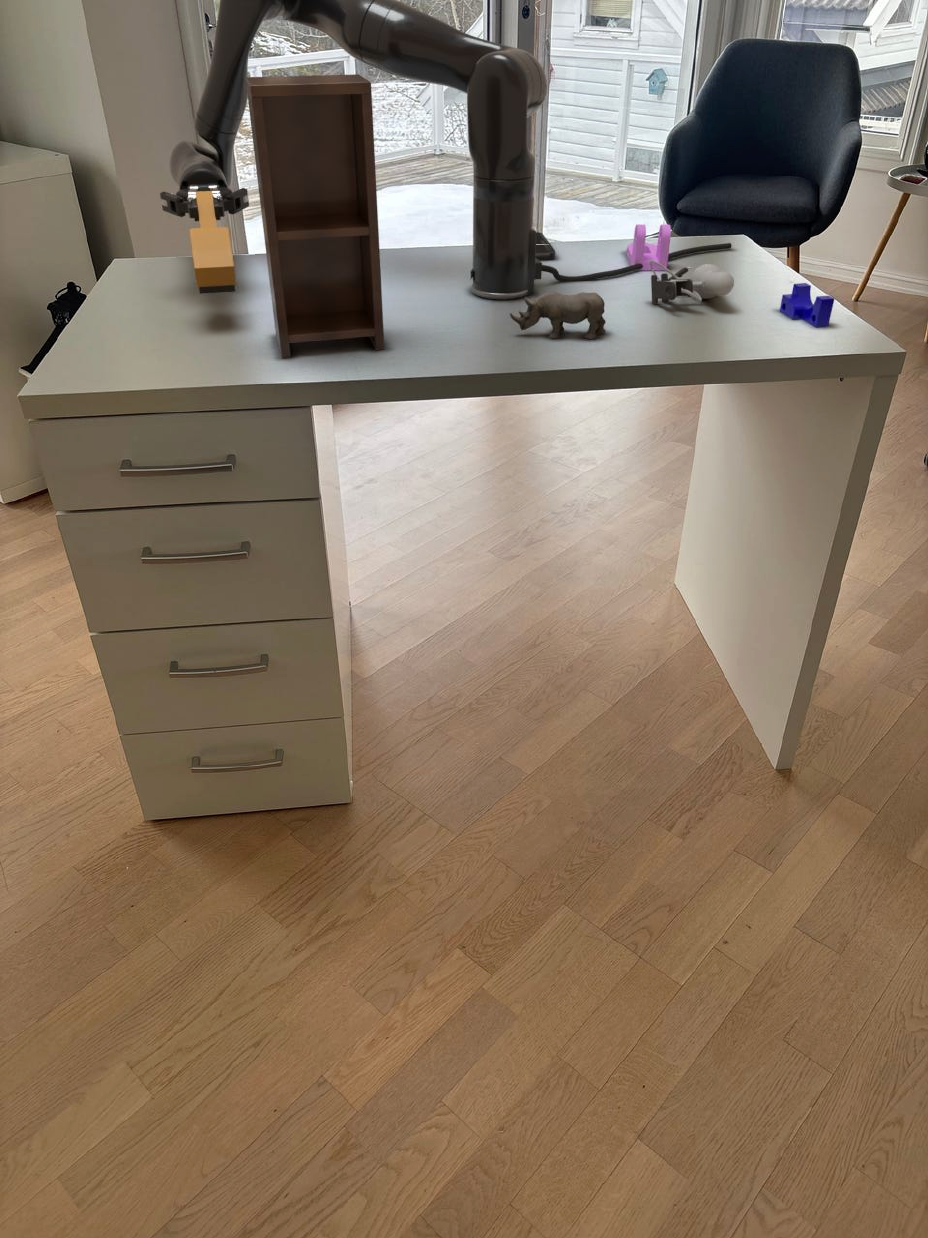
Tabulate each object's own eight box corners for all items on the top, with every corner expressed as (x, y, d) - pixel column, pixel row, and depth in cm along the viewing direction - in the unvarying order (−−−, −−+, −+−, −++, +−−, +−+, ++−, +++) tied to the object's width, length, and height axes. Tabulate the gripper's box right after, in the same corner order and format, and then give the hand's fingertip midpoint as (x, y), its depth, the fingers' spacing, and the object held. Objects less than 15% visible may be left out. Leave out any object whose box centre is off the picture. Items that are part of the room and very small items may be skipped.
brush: (223, 203, 140) (220, 175, 136) (237, 292, 133) (234, 266, 129) (187, 205, 139) (182, 177, 135) (198, 294, 132) (194, 268, 128)
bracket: (666, 270, 160) (671, 227, 156) (633, 270, 160) (638, 227, 156) (655, 250, 170) (659, 209, 166) (624, 250, 170) (628, 209, 166)
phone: (512, 253, 164) (501, 232, 176) (512, 260, 164) (500, 239, 177) (557, 252, 164) (542, 231, 177) (556, 259, 165) (541, 237, 177)
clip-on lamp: (633, 301, 155) (665, 310, 138) (631, 261, 152) (664, 265, 136) (702, 292, 155) (742, 300, 139) (702, 251, 153) (742, 254, 136)
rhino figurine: (508, 329, 134) (509, 287, 131) (603, 330, 134) (607, 287, 131) (509, 339, 131) (510, 296, 128) (607, 339, 131) (611, 296, 127)
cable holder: (779, 311, 142) (784, 284, 139) (800, 309, 142) (805, 282, 140) (806, 327, 135) (812, 300, 133) (828, 326, 136) (834, 298, 134)
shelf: (373, 328, 135) (359, 73, 116) (384, 349, 128) (371, 81, 109) (276, 336, 132) (245, 76, 113) (281, 358, 125) (250, 85, 106)
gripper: (154, 164, 145) (152, 187, 131) (245, 160, 148) (252, 182, 134) (163, 215, 149) (162, 243, 136) (251, 211, 152) (258, 237, 139)
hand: (206, 213), depth 135 cm, fingers closed on brush, 2 cm apart
